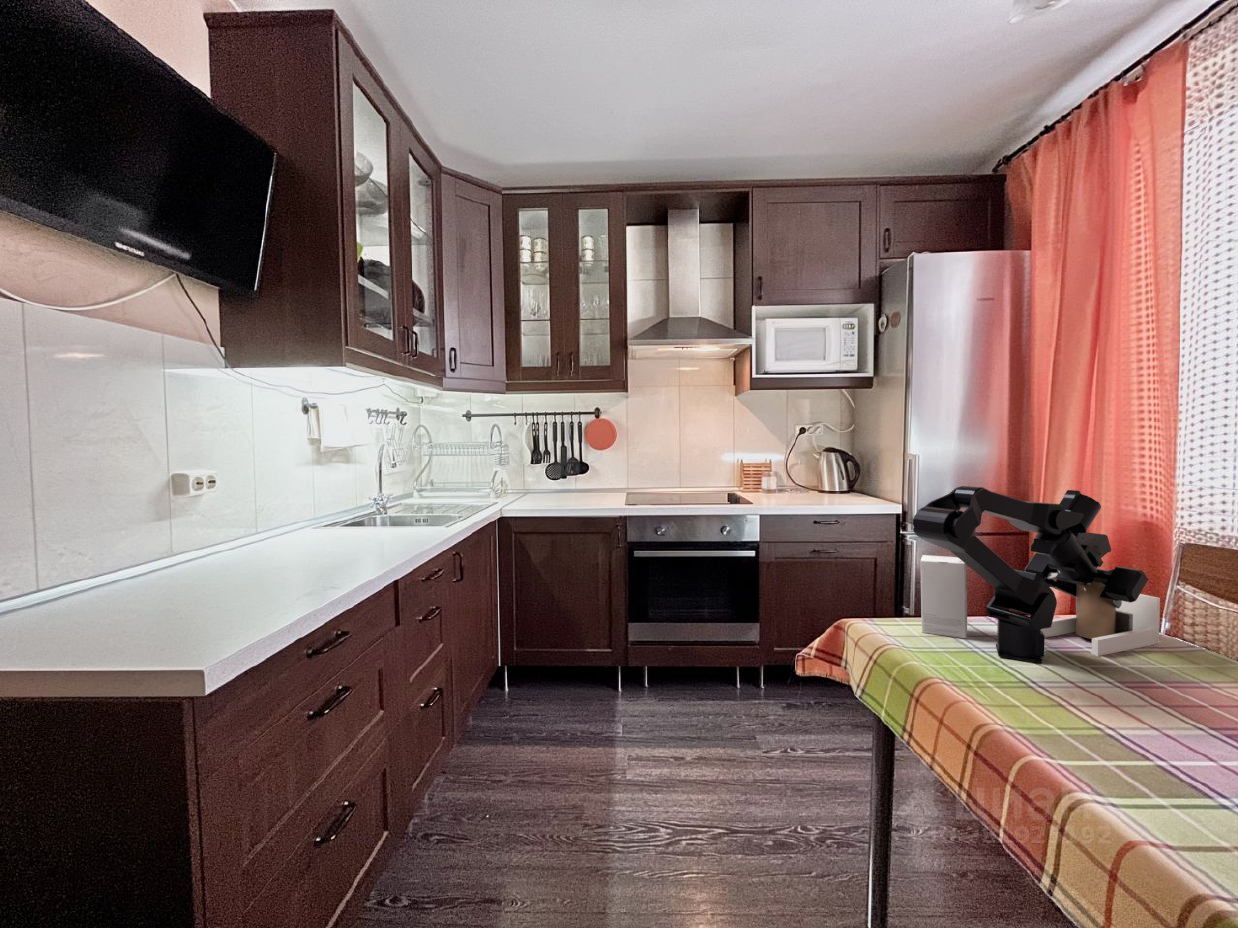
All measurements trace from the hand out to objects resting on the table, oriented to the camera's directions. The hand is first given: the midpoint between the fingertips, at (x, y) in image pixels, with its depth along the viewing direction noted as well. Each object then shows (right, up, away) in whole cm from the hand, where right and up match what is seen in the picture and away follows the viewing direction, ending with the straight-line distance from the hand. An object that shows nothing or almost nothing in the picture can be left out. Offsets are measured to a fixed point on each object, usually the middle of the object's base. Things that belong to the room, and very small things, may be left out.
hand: (1100, 602), depth 110 cm
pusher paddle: (+2, -7, +1) cm, 7 cm away
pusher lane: (-1, -8, 0) cm, 8 cm away
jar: (-1, -7, 0) cm, 7 cm away
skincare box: (-28, -8, +5) cm, 30 cm away
